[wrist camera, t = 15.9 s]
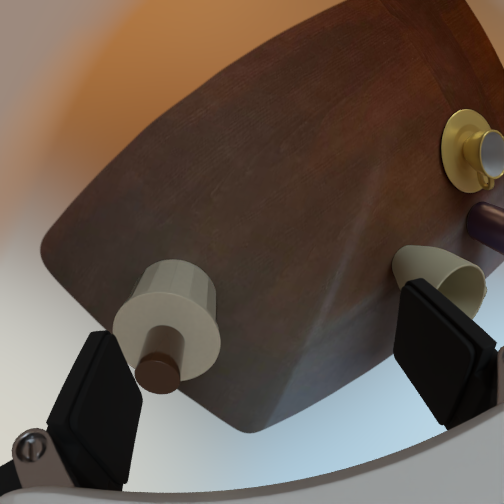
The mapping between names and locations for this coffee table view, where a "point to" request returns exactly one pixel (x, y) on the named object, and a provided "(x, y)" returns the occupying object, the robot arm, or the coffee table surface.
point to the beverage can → (487, 225)
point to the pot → (179, 282)
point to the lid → (166, 338)
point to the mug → (442, 275)
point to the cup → (472, 152)
